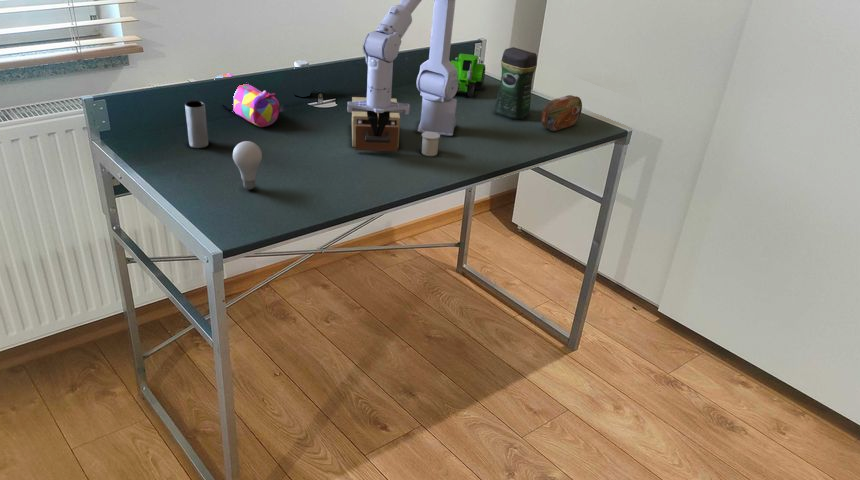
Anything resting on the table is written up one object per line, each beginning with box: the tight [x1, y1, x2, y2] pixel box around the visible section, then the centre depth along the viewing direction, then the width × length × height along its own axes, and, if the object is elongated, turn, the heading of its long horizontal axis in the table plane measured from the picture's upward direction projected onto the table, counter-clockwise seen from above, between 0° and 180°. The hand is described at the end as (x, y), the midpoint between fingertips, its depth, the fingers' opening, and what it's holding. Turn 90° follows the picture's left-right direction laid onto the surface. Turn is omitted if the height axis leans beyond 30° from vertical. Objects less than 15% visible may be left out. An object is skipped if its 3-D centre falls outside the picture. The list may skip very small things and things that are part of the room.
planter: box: [184, 100, 209, 149], centre depth 175 cm, size 4×4×10 cm
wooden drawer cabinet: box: [351, 96, 401, 149], centre depth 188 cm, size 14×12×8 cm
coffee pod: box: [421, 131, 441, 157], centre depth 182 cm, size 5×5×5 cm
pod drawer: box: [354, 119, 400, 152], centre depth 182 cm, size 17×10×6 cm, turn 6°
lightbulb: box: [232, 140, 263, 191], centre depth 157 cm, size 6×6×11 cm
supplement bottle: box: [293, 59, 310, 68], centre depth 209 cm, size 5×5×10 cm
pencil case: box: [215, 73, 285, 128], centre depth 193 cm, size 22×9×9 cm, turn 47°
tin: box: [541, 94, 583, 132], centre depth 203 cm, size 15×3×8 cm, turn 131°
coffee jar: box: [494, 46, 538, 120], centre depth 206 cm, size 10×8×19 cm
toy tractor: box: [450, 53, 486, 98], centre depth 223 cm, size 11×16×10 cm
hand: (377, 140), depth 176 cm, fingers closed, pressing on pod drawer
